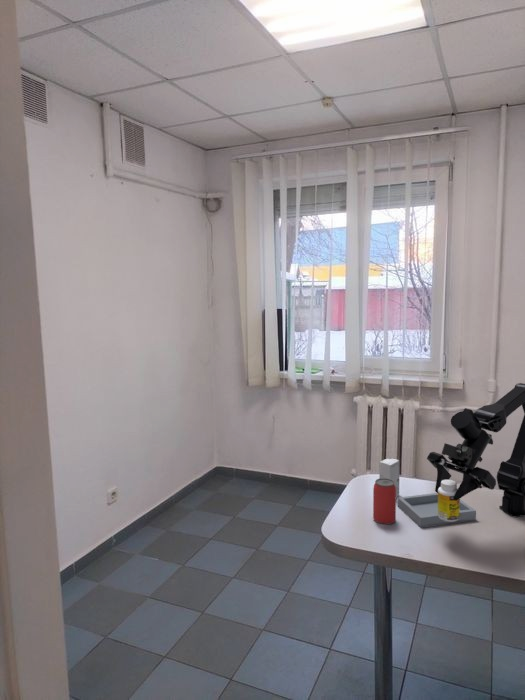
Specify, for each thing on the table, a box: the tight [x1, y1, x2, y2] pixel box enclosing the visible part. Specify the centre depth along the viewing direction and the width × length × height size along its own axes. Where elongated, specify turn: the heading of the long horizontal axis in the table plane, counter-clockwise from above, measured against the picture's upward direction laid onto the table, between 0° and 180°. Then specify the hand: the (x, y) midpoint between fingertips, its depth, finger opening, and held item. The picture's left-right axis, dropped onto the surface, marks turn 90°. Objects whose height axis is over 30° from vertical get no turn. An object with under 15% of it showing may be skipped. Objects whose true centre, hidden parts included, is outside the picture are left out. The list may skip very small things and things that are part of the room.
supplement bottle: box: [438, 479, 461, 522], centre depth 132 cm, size 6×6×10 cm
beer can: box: [372, 478, 397, 525], centre depth 145 cm, size 7×7×12 cm
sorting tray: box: [397, 492, 477, 529], centre depth 149 cm, size 18×14×3 cm
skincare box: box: [378, 457, 400, 498], centre depth 162 cm, size 6×4×12 cm
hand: (445, 495), depth 131 cm, fingers closed on supplement bottle, 5 cm apart
